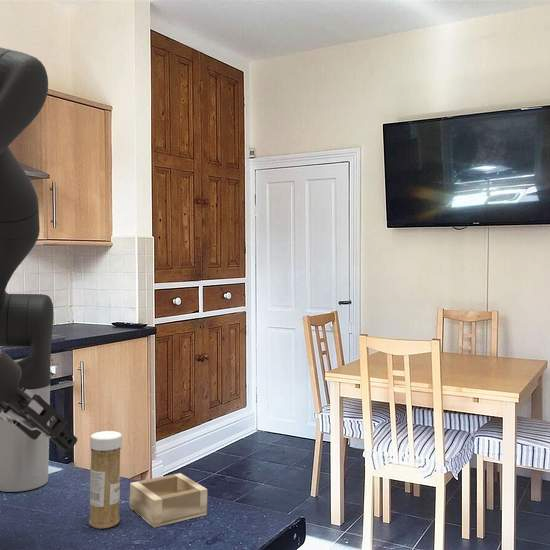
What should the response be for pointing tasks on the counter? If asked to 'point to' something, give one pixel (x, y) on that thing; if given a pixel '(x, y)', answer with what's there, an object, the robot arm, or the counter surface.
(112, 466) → the sprinkles bottle
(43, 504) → the counter surface
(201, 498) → the socket block
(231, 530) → the counter surface
